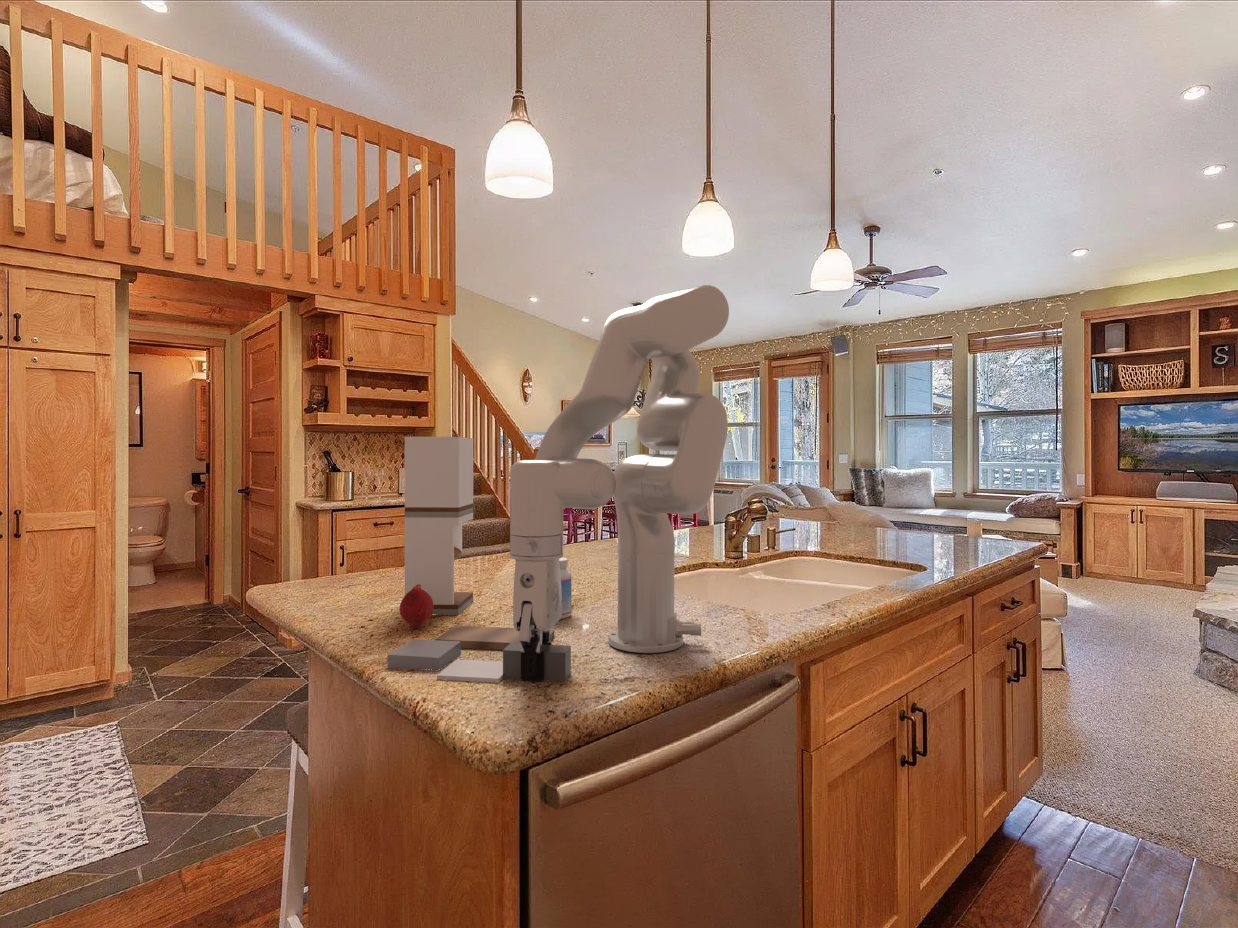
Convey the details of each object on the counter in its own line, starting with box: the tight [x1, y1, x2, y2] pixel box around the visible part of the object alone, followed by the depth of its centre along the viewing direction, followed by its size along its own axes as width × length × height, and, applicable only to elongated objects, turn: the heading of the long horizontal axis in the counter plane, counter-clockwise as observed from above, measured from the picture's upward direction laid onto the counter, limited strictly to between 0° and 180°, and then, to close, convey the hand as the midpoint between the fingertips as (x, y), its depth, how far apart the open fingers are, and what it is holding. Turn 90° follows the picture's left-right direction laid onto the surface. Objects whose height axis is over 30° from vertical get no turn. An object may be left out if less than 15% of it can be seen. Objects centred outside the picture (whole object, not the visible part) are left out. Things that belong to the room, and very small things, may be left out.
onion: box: [399, 583, 434, 629], centre depth 115 cm, size 6×6×8 cm
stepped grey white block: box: [436, 643, 572, 684], centre depth 91 cm, size 18×7×4 cm, turn 82°
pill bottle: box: [559, 556, 573, 620], centre depth 124 cm, size 6×6×11 cm
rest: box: [434, 625, 555, 651], centre depth 107 cm, size 18×8×1 cm, turn 82°
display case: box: [404, 436, 474, 616], centre depth 130 cm, size 11×11×35 cm
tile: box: [387, 638, 462, 671], centre depth 97 cm, size 8×2×8 cm
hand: (536, 673), depth 90 cm, fingers closed on stepped grey white block, 3 cm apart
